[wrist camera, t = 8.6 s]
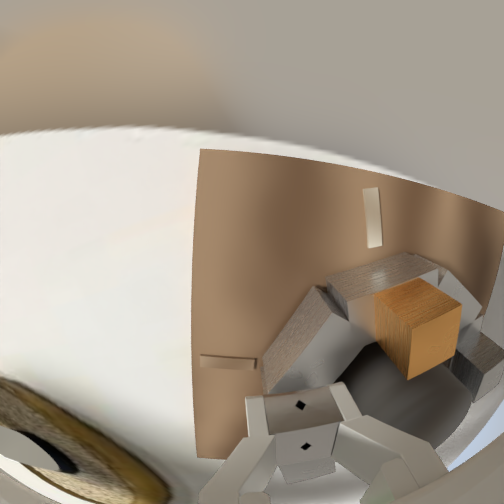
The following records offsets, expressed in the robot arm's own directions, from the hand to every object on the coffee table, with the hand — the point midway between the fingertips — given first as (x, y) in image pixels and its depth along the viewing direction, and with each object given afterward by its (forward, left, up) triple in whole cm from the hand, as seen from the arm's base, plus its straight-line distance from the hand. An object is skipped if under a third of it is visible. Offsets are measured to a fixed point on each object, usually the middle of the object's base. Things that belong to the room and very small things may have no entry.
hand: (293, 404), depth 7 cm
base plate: (+7, -3, -8) cm, 11 cm away
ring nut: (+7, -3, -6) cm, 10 cm away
